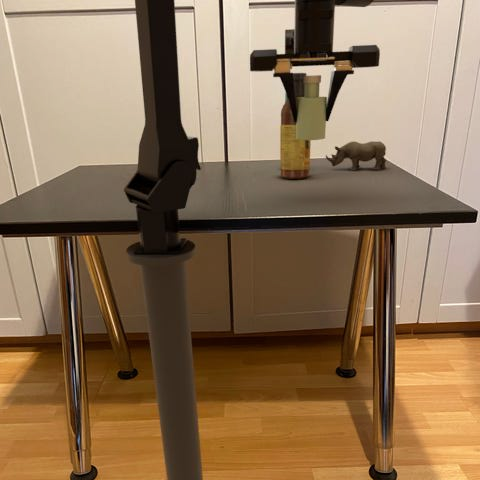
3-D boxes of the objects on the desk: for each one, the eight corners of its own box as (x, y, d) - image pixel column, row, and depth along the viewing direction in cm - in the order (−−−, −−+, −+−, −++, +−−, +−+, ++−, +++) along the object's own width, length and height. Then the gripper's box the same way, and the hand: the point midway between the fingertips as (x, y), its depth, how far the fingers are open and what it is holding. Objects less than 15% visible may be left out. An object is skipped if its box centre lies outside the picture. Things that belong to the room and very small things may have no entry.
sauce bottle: (311, 179, 100) (315, 72, 91) (281, 180, 100) (282, 73, 91) (307, 174, 106) (310, 72, 97) (279, 174, 106) (279, 73, 97)
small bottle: (326, 139, 75) (328, 74, 71) (296, 140, 75) (297, 76, 71) (324, 136, 79) (326, 75, 75) (295, 137, 79) (296, 76, 75)
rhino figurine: (324, 168, 112) (325, 141, 110) (384, 167, 111) (387, 139, 108) (325, 171, 109) (326, 143, 106) (387, 170, 107) (390, 141, 105)
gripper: (372, 8, 75) (364, 116, 82) (253, 14, 77) (255, 119, 84) (385, -3, 65) (374, 121, 72) (248, 4, 67) (251, 124, 74)
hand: (311, 121), depth 76 cm, fingers closed on small bottle, 4 cm apart
